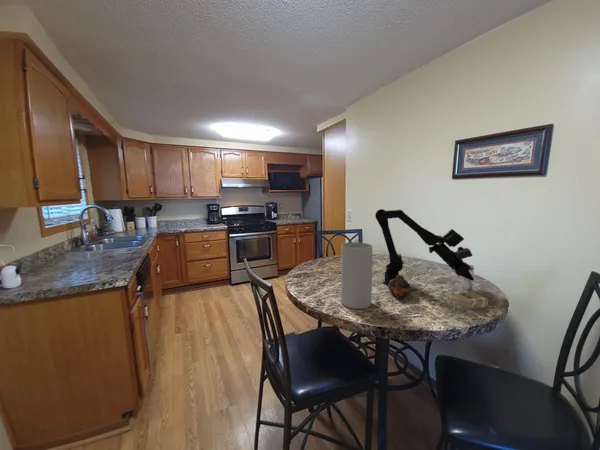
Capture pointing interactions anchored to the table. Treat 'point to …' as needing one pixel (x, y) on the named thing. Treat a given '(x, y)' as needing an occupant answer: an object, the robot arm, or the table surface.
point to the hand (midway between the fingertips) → (471, 278)
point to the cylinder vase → (356, 275)
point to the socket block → (469, 299)
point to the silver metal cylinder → (468, 281)
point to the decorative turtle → (399, 286)
